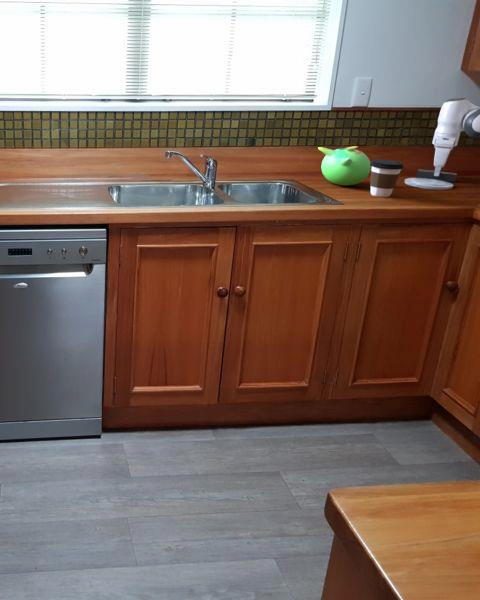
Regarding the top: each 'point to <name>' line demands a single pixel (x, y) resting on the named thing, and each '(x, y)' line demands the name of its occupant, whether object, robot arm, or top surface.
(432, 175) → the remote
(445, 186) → the plate
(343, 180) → the toy bird
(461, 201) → the top surface
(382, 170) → the coffee cup
